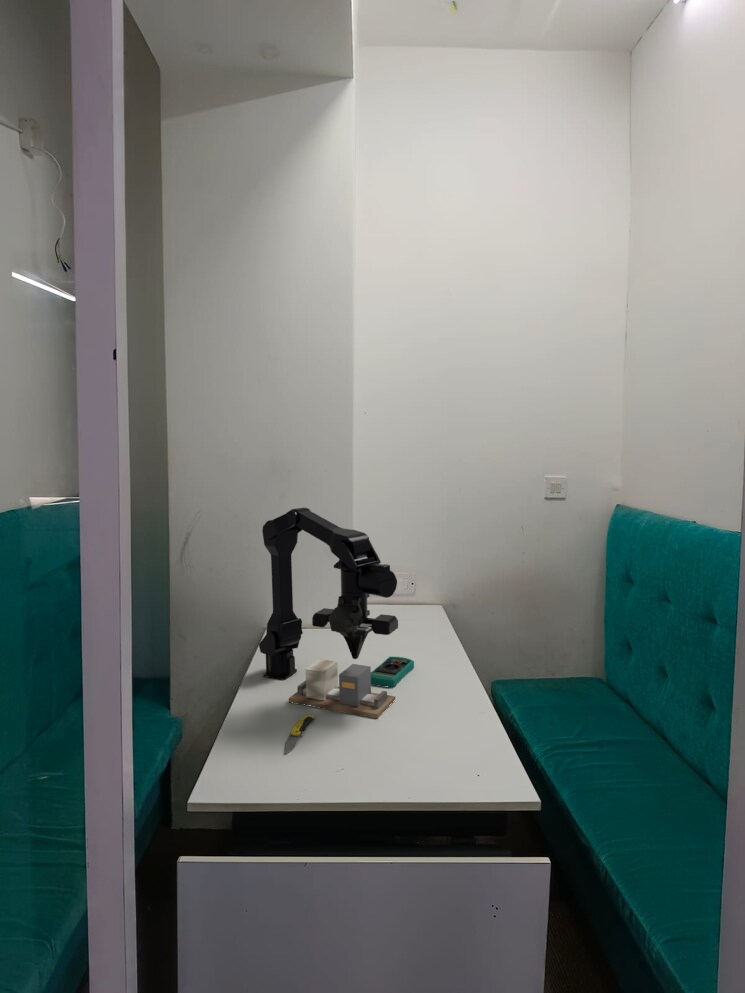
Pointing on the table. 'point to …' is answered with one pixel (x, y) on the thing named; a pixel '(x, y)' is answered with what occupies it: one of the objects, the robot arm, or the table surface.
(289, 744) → the utility knife
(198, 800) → the table surface
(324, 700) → the din panel
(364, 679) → the block
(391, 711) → the table surface
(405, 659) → the digital multimeter
